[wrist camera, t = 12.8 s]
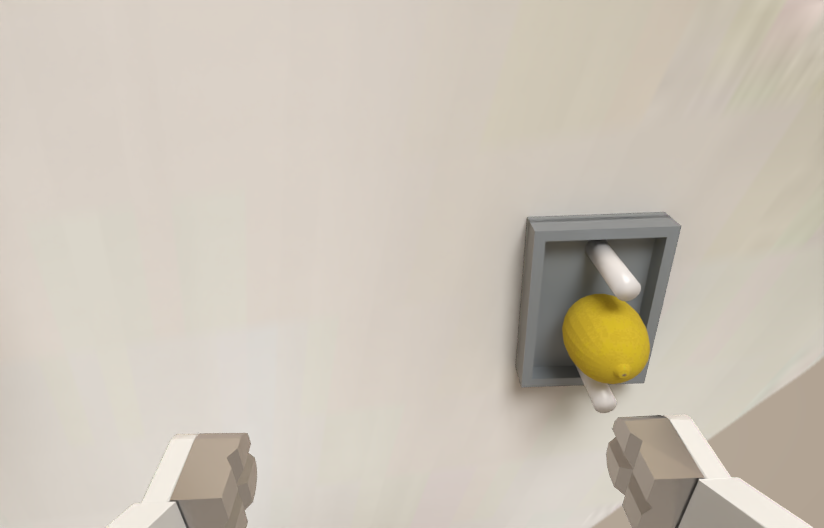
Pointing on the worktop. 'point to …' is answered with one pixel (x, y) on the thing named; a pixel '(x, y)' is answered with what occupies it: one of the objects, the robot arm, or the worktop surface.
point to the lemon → (606, 338)
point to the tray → (588, 287)
